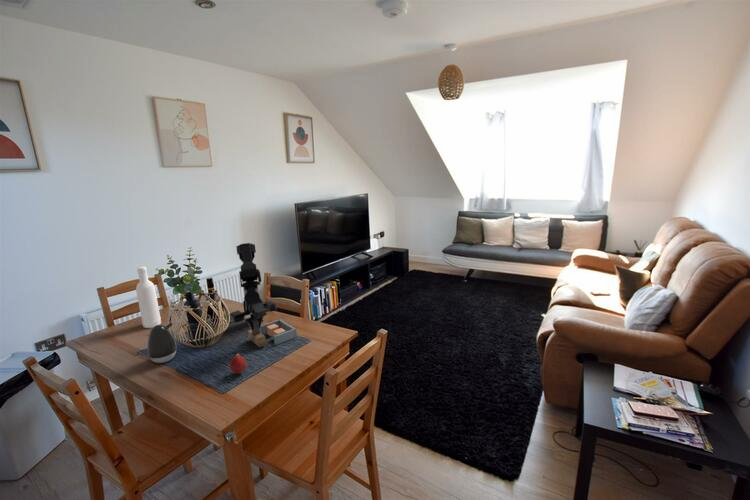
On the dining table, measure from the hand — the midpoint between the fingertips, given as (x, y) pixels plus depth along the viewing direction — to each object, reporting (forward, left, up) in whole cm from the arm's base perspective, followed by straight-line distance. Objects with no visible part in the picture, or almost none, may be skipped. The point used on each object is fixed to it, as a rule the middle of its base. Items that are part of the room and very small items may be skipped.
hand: (255, 329), depth 155 cm
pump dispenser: (-14, -33, -7) cm, 37 cm away
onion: (+18, -15, -7) cm, 24 cm away
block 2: (+4, +9, -7) cm, 12 cm away
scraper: (0, 0, -6) cm, 6 cm away
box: (0, +10, -6) cm, 12 cm away
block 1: (-3, +9, -7) cm, 12 cm away
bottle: (-56, -29, -7) cm, 64 cm away
